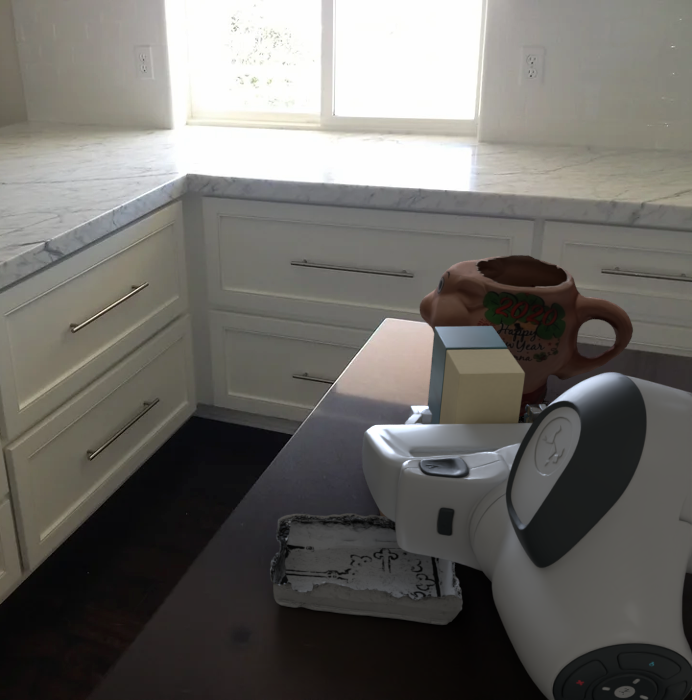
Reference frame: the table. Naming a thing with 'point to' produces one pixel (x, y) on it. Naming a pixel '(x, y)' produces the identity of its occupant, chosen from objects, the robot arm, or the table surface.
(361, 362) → the table surface
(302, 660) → the table surface
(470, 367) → the beige rectangular block
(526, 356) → the brown sculpted mug
